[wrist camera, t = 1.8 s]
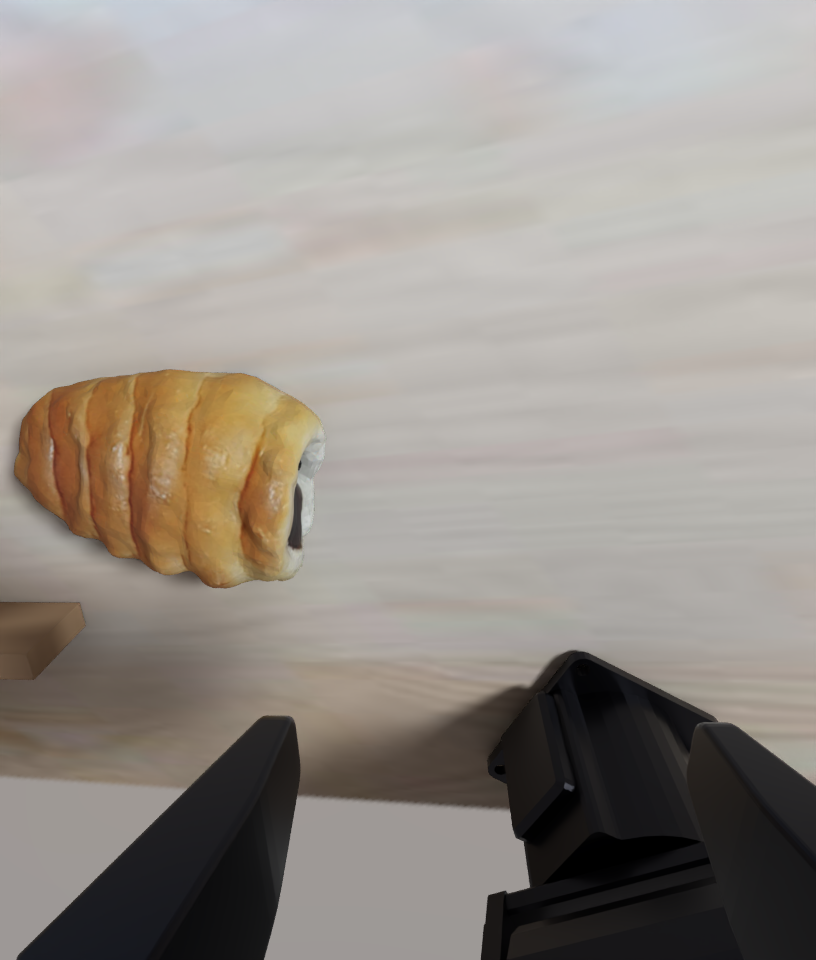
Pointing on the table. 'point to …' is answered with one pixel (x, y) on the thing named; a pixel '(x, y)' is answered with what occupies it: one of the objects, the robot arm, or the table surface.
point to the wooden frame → (35, 635)
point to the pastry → (179, 471)
